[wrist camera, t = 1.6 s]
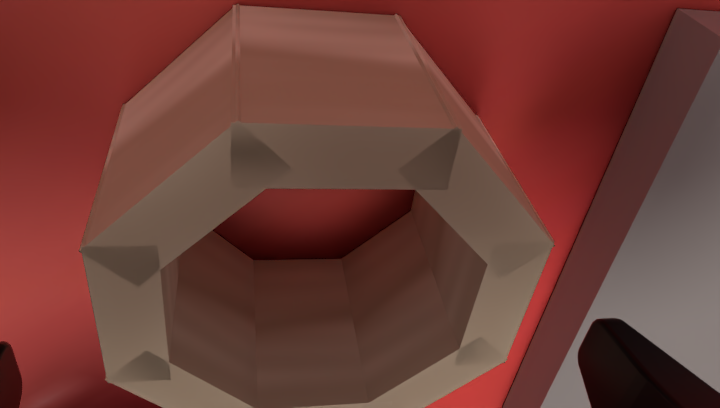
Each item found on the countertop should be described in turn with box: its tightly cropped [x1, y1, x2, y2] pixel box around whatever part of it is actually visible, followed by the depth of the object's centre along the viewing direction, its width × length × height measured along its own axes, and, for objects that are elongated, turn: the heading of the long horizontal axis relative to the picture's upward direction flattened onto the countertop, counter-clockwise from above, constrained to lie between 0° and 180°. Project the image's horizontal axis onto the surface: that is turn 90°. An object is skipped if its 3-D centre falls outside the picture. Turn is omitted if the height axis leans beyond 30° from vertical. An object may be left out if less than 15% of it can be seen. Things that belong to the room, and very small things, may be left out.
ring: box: [79, 3, 555, 408], centre depth 12 cm, size 7×7×4 cm
